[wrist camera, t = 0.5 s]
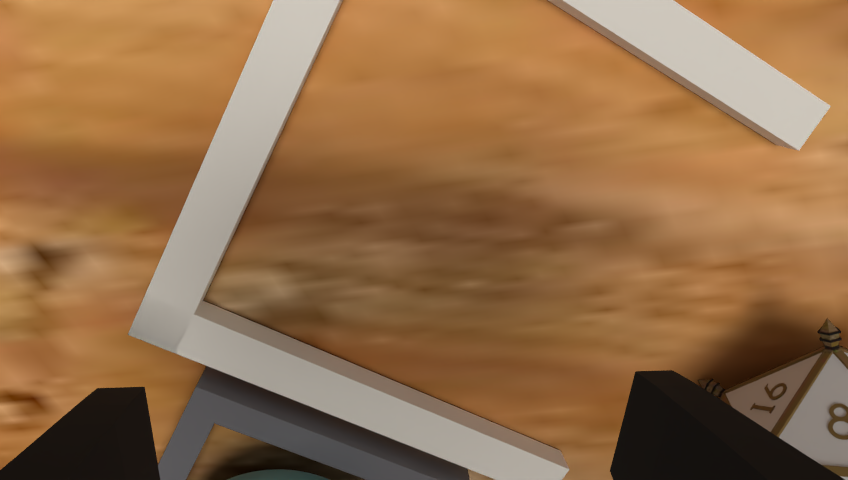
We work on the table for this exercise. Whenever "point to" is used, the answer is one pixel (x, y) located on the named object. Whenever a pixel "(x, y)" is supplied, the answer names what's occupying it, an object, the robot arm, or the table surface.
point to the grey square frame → (293, 434)
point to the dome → (278, 475)
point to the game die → (801, 401)
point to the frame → (339, 379)
